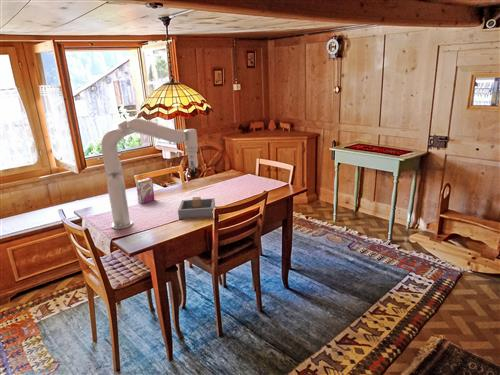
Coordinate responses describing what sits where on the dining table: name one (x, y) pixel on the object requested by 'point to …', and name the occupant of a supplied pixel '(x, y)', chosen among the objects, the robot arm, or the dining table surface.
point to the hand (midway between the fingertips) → (193, 175)
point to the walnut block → (196, 202)
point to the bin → (190, 213)
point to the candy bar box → (145, 190)
